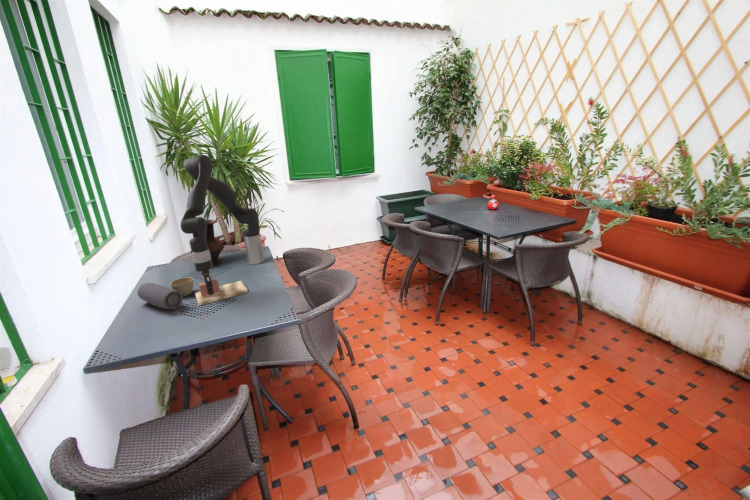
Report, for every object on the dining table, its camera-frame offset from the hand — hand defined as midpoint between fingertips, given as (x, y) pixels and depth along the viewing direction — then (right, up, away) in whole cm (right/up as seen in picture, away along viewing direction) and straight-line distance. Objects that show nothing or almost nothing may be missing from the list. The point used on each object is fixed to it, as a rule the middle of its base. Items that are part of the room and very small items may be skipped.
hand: (210, 292), depth 164 cm
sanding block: (0, -1, 0) cm, 1 cm away
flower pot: (-15, -2, +5) cm, 16 cm away
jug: (-22, +11, +45) cm, 52 cm away
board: (+4, -1, +3) cm, 5 cm away
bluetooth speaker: (-20, -6, -5) cm, 21 cm away
